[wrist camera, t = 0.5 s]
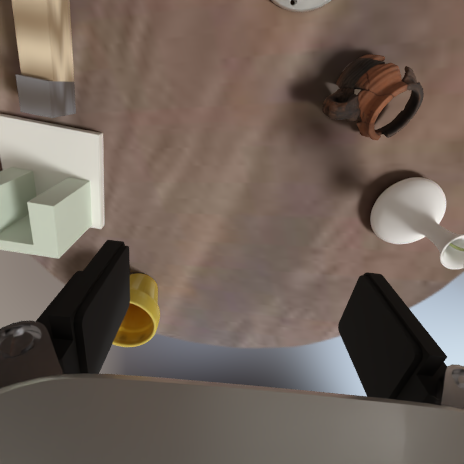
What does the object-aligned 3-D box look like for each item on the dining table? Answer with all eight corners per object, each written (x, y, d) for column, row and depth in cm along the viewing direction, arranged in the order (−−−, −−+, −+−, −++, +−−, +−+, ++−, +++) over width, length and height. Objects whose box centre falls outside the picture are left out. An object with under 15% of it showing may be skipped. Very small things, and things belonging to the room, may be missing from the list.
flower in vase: (433, 231, 49) (603, 355, 26) (365, 243, 50) (474, 372, 28) (443, 156, 43) (672, 235, 21) (366, 172, 44) (505, 262, 22)
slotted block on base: (0, 113, 40) (-80, 123, 29) (103, 133, 41) (60, 149, 31) (17, 210, 46) (-44, 246, 36) (104, 224, 48) (70, 263, 38)
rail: (34, -43, 32) (-5, -69, 27) (67, -35, 32) (35, -59, 27) (49, 108, 39) (20, 111, 34) (75, 113, 40) (51, 117, 34)
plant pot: (142, 254, 50) (124, 289, 42) (179, 292, 55) (169, 331, 46) (101, 280, 53) (75, 318, 44) (138, 314, 57) (122, 356, 48)
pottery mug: (394, 39, 36) (445, 63, 32) (374, 107, 44) (412, 136, 39) (310, 66, 35) (349, 96, 30) (304, 132, 43) (334, 165, 38)
